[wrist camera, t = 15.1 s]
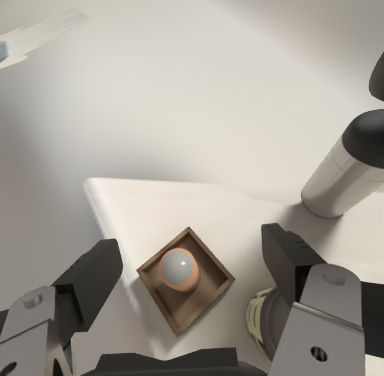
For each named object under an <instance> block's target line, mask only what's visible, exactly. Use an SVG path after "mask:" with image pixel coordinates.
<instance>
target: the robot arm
mask: <svg viewBox="0 0 384 376" xmlns="http://www.w3.org/2000/svg"><path fill="white" fill-rule="evenodd" d="M369 91H370V93H371V95H372V96H374V97H376V98H377V99H380V100H382V101H384V52H383V54H382V55H381V57H380V59H379V60H378V62H377V64H376V66H375V68H374V70H373V72H372V75H371V77H370V81H369ZM382 185H384V109H378V110H372V111H368V112H365V113H363V114H361V115H359V116H357V117H356V118H355V119H354V120H353V121H352V122H351V123H350V124H349V125H348V127H347V128H346V130H345V131H344V133H343V134H342V135H341V137H340V138H339V139H338V141H337V142H336V144H335V145H334V146H333V148H332V149H331V151H330V152H329V154H328V155H327V156H326V158H325V159H324V160H323V162H322V163H321V164H320V166H319V167H318V168H317V170H316V171H315V173H314V174H313V175H312V177H311V178H310V180H309V181H308V182H307V183H306V185H305V186H304V188H303V189H302V192H301V198H302V201H303V203H304V205H305V206H306V207H307V209H309V210H310V211H311V212H313V213H314V214H316V215H318V216H321V217H325V218H335V217H338V216H341V215H342V214H344V213H345V212H346V211H348V210H349V209H350V208H352V207H353V206H355V205H356V204H358V203H359V202H360V201H362V200H363V199H364V198H366V197H367V196H369V195H370V194H371V193H373V192H374V191H375V190H377V189H378V188H379V187H381V186H382ZM261 232H262V252H263V258H264V261H265V264H266V266H267V267H268V269H269V271H270V273H271V275H272V277H273V279H274V281H275V282H276V284H277V286H278V288H279V290H280V292H281V294H282V296H283V298H284V299H285V301H286V303H287V305H288V307H289V309H290V314H289V317H288V320H287V322H286V325H285V328H284V331H283V334H282V336H281V339H280V342H279V345H278V348H277V350H276V353H275V356H274V359H273V362H272V364H271V367H270V370H269V373H268V374H266V373H265V372H263V371H262V370H260V369H258V368H256V367H254V366H252V365H249V364H247V363H244V362H240V361H238V359H237V353H236V347H233V348H214V349H200V350H198V351H195V352H192V353H189V354H186V355H183V356H180V357H177V358H174V359H171V360H167V361H162V360H158V359H155V358H151V357H147V356H143V355H140V354H136V353H120V354H102V355H101V357H100V360H99V362H98V364H97V366H96V368H95V369H94V370H91V371H89V372H87V373H85V374H83V375H81V376H365V354H368V355H372V356H376V357H380V358H384V284H376V283H369V282H363V281H360V279H359V278H358V277H357V276H356V275H355V274H354V273H353V272H351V271H349V270H348V269H346V268H343V267H341V266H338V265H334V264H328V263H327V262H326V261H325V260H323V259H322V258H321V257H320V256H319V255H318V254H317V253H316V252H315V251H314V250H313V249H312V248H310V246H309V245H308V244H307V243H305V241H304V240H303V239H302V238H301V237H300V236H298V235H296V234H294V233H292V232H290V231H288V232H285V231H284V230H283V229H282V227H281V226H280V225H279V224H278V223H272V224H262V227H261ZM122 270H123V263H122V259H121V254H120V250H119V246H118V242H117V240H116V239H104V240H100V241H99V242H98V243H97V244H96V245H95V246H94V247H93V248H92V249H91V250H90V251H88V252H87V253H85V254H83V255H82V256H81V257H80V258H79V259H78V260H77V261H76V262H75V263H74V264H73V265H72V266H71V267H70V269H67V270H66V271H65V272H64V273H63V274H62V275H61V276H60V277H59V278H58V279H57V280H56V281H55V282H54V283H53V284H52V285H51V286H43V287H40V288H37V289H34V290H32V291H30V292H28V293H26V294H25V295H23V296H22V297H20V298H19V299H18V300H16V301H15V302H14V303H13V304H12V306H11V307H10V309H8V310H4V311H1V312H0V376H76V366H75V354H74V343H73V340H72V336H73V334H74V333H75V332H88V330H89V328H90V327H91V325H92V323H93V322H94V320H95V318H96V317H97V315H98V313H99V312H100V310H101V308H102V306H103V305H104V303H105V301H106V300H107V298H108V296H109V295H110V293H111V291H112V290H113V288H114V286H115V284H116V283H117V281H118V279H119V278H120V276H121V274H122Z"/></svg>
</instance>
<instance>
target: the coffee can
mask: <svg viewBox="0 0 384 376" xmlns="http://www.w3.org/2000/svg"><path fill="white" fill-rule="evenodd" d="M289 314H290V309H289V307H288V305H287V303H286V301H285V299H284V298H283V296H282V294H281V292H280V290H279V288H278V286H277V285H276V286H274V287H271V288H269V289H264V290H261V291H259V292H257V293H256V294H255V295H254V296H253V297H252V298H251V300H250V301H249V303H248V306H247V310H246V324H247V329H248V332H249V335H250V337H251V339H252V341H253V342H254V344H255V345H256V346H257V348H258V349H259V350H260V351H261V352H262V353H263V354H264V355H266V356H267V357H268V358H269V360H270V361H271V362H273V359H274V356H275V353H276V350H277V348H278V345H279V342H280V339H281V336H282V334H283V331H284V328H285V325H286V322H287V320H288V317H289Z"/></svg>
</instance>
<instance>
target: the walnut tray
mask: <svg viewBox="0 0 384 376" xmlns="http://www.w3.org/2000/svg"><path fill="white" fill-rule="evenodd" d="M175 248H182V249H185V250H187V251H189V252H190V253H191V254H192V256H193V257H194V259H195V261H196V264H197V266H198V268H199V270H200V273H201V281H200V284H199V286H198V287H197V289H196V290H194V291H193V292H190V293H182V292H180V291H178V290H175V289H173V288H171V287H169V286H167V285H166V284H165V283H164V282H163V281H162V279H161V277H160V274H159V264H160V261H161V259H162V257H163V256H164V255H165V254H166V253H167V252H168V251H170V250H172V249H175ZM137 272H138V274H139V275H140V277H141V279H142V280H143V282H144V284H145V285H146V287H147V289H148V290H149V292H150V294H151V295H152V297H153V299H154V300H155V302H156V304H157V305H158V307H159V309H160V310H161V312H162V314H163V315H164V317H165V319H166V320H167V322H168V323H169V325H170V327H171V328H172V330H173V332H174V333H175V335H176V337H178V336H179V335H181V334H182V333H183V332H184V331H185V330H186V329H187V328H188V327H189V326H190V325H191V324H192V323H193V322H194V321H195V320H196V319H197V318H198V317H199V316H200V315H201V314H202V313H203V312H204V311H205V310H206V309H207V308H208V307H209V306H210V305H211V304H212V303H213V302H214V301H215V300H216V299H217V298H218V297H219V296H220V295H221V294H222V293H223V292H224V291H225V290H226V289H227V288H228V287H229V286H230V285H231V284H232V283H233V282H234V280H235V278H234V277H233V276H232V275H231V274H230V273H229V272H228V270H227V269H226V268H225V267H224V266H223V265H222V264H221V262H220V261H219V260H218V259H217V258H216V257H215V255H214V254H213V253H212V252H211V251H210V250H209V249H208V247H207V246H206V245H205V244H204V243H203V242H202V241H201V239H200V238H199V237H198V236H197V235H196V234H195V233H194V231H193V230H192V229H191V228H190V227H188V228H186V229H185V230H184V231H183V232H182V233H180V234H179V235H178V236H177V237H176V238H174V239H173V240H172V241H171V242H170V243H168V244H167V245H166V246H165V247H164V248H162V249H161V250H160V251H159V252H158V253H156V254H155V255H154V256H153V257H151V258H150V259H149V260H148V261H147V262H145V263H144V264H143V265H142V266H141V267H139V268H138V269H137Z"/></svg>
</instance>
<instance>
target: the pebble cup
mask: <svg viewBox="0 0 384 376" xmlns="http://www.w3.org/2000/svg"><path fill="white" fill-rule="evenodd" d="M159 274H160V277H161V279H162V281H163V282H164V283H165V284H166V285H167V286H169V287H171V288H173V289H175V290H178V291H180V292H182V293H190V292H193V291H194V290H196V289H197V287H198V286H199V284H200V281H201V273H200V270H199V268H198V266H197V264H196V261H195V259H194V257H193V256H192V254H191V253H190V252H189V251H187V250H185V249H182V248H175V249H172V250H170V251H168V252H167V253H166V254H165V255H164V256H163V257H162V259H161V261H160V264H159Z"/></svg>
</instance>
